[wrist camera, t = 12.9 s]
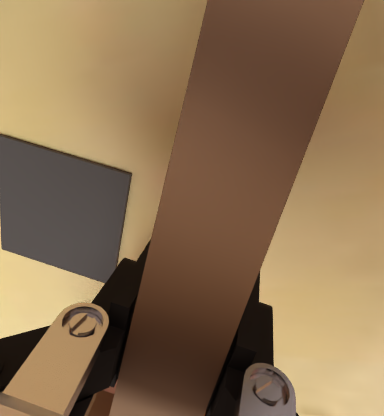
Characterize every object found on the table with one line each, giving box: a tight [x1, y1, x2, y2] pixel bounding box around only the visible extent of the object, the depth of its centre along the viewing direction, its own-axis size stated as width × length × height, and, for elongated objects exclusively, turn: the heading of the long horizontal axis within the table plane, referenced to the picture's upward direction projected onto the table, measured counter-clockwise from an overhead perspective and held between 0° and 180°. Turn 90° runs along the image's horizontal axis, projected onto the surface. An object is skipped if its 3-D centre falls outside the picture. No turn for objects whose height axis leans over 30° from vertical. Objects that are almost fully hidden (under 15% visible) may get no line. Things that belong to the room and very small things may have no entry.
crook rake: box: [88, 0, 364, 416], centre depth 13 cm, size 28×8×10 cm, turn 166°
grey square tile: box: [0, 134, 132, 283], centre depth 23 cm, size 9×9×1 cm
